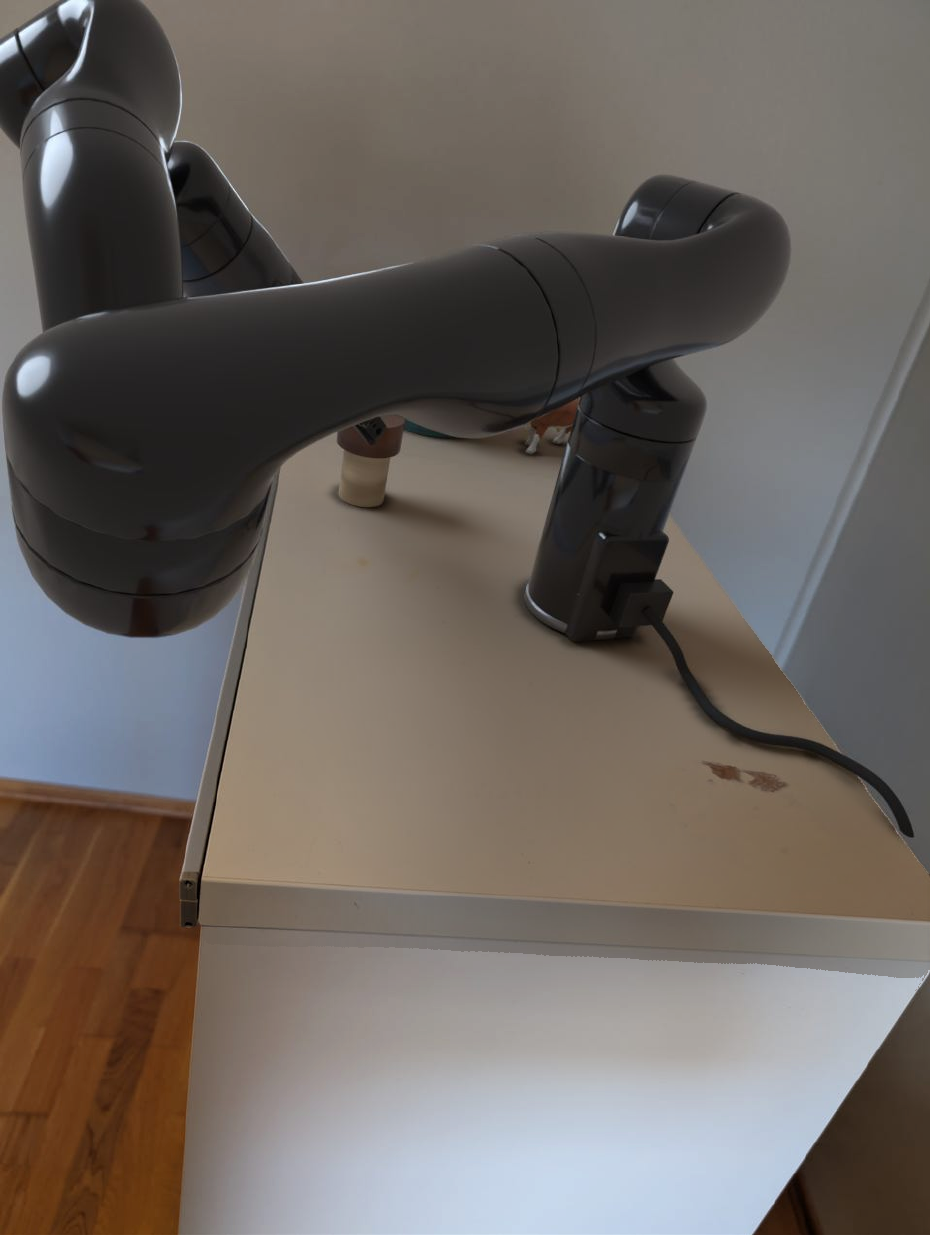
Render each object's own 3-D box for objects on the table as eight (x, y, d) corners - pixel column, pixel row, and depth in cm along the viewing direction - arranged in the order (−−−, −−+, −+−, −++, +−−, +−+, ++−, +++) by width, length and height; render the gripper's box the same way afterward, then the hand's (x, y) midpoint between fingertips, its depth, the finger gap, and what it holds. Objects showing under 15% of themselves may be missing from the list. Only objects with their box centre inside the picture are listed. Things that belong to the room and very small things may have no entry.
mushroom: (399, 511, 83) (414, 429, 78) (339, 511, 80) (350, 426, 76) (380, 483, 87) (393, 404, 83) (323, 483, 85) (332, 401, 80)
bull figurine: (486, 439, 103) (500, 373, 99) (579, 441, 109) (597, 378, 105) (502, 455, 100) (518, 387, 96) (597, 455, 106) (616, 391, 102)
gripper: (159, 297, 66) (271, 420, 80) (270, 359, 59) (372, 483, 73) (222, 225, 67) (322, 359, 81) (339, 278, 60) (427, 416, 74)
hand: (346, 418), depth 77 cm, fingers open, 8 cm apart
